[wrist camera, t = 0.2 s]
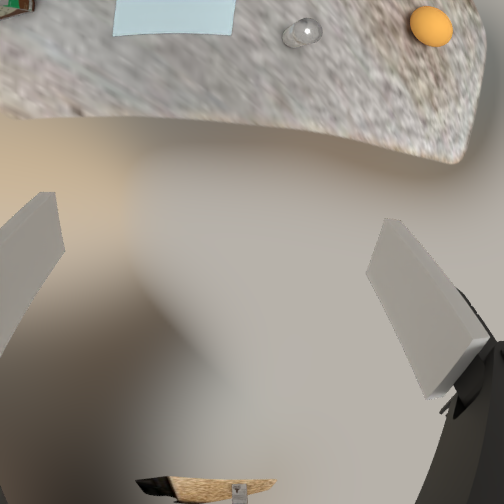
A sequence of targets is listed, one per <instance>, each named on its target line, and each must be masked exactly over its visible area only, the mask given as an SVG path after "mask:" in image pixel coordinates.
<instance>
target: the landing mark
mask: <svg viewBox="0 0 504 504" xmlns="http://www.w3.org/2000/svg"><path fill="white" fill-rule="evenodd" d="M235 3H236V0H117V2H116V9H115V17H114V26H113V36H124V35H139V34H166V33H188V34H216V35H231V33H232V25H233V17H234V10H235Z"/></svg>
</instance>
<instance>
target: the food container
mask: <svg viewBox="0 0 504 504" xmlns="http://www.w3.org/2000/svg"><path fill="white" fill-rule="evenodd" d="M34 8H35V1H34V0H0V21H1V20H4V19H8V18H11V17H15V16H18V15H22V14H26V13H30V12H34Z"/></svg>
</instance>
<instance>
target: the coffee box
mask: <svg viewBox="0 0 504 504" xmlns="http://www.w3.org/2000/svg"><path fill="white" fill-rule="evenodd" d="M232 504H248V498H247V486H246V484H232Z"/></svg>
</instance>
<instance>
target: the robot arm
mask: <svg viewBox="0 0 504 504" xmlns="http://www.w3.org/2000/svg"><path fill="white" fill-rule="evenodd" d="M64 252H65V248H64V243H63V238H62V233H61V227H60V221H59V216H58V209H57V202H56V195H55V192H40V193H38V194H37V195H36V196H35V197H34V198H33V199H32V200H30V201H29V202H28V203H27V204H26V205H25V206H24V207H22V208H21V209H20V210H19V211H18V212H17V213H16V214H15V215H14V216H13V217H12V218H11V219H10V220H8V221H7V223H5V224H4V225H3V226H2V227H1V228H0V357H1V355H2V353H3V351H4V349H5V347H6V345H7V344H8V342H9V340H10V338H11V336H12V334H13V333H14V331H15V329H16V327H17V326H18V324H19V322H20V320H21V319H22V317H23V315H24V314H25V312H26V310H27V308H28V307H29V305H30V304H31V302H32V300H33V299H34V297H35V295H36V294H37V292H38V291H39V289H40V288H41V286H42V285H43V283H44V282H45V280H46V279H47V277H48V275H49V274H50V273H51V271H52V270H53V268H54V267H55V265H56V264H57V262H58V261H59V259H60V258H61V257H62V255H63V254H64ZM366 275H367V277H368V279H369V281H370V283H371V284H372V287H373V289H374V291H375V293H376V294H377V296H378V298H379V300H380V302H381V304H382V306H383V308H384V310H385V312H386V314H387V316H388V318H389V320H390V322H391V324H392V326H393V328H394V331H395V332H396V334H397V337H398V339H399V341H400V343H401V345H402V347H403V350H404V352H405V354H406V356H407V358H408V360H409V363H410V365H411V367H412V369H413V372H414V374H415V376H416V378H417V381H418V383H419V385H420V388H421V390H422V392H423V395H424V397H425V400H430V399H435V398H439V397H443V396H444V395H445V394H446V393H447V392H448V391H449V389H450V388H451V387H452V386H453V385H454V387H455V389H456V391H457V393H456V394H455V395H454V396H453V397H452V398H451V399H450V400H449V401H448V402H447V404H446V405H445V406H444V407H443V408H442V409H441V411H440V412H439V413H440V414H442V413H443V412H444V411H445V410H446V409H448V408H449V411H448V413H447V414H446V417H447V418H446V421H445V425H444V428H443V431H442V434H441V437H440V440H439V444H438V447H437V450H436V453H435V455H434V458H433V461H432V464H431V466H430V469H429V472H428V474H427V476H426V479H425V481H424V484H423V486H422V489H421V491H420V493H419V496H418V498H417V500H416V502H415V504H504V341H499V342H497V341H496V340H495V338H494V337H493V335H492V334H491V332H490V330H489V329H488V328H487V326H486V325H485V323H484V322H483V320H482V319H481V317H480V316H479V315H478V314H477V312H476V310H475V309H474V307H473V306H471V303H470V302H469V300H468V299H467V298H466V296H465V295H464V294H463V293H462V292H461V291H460V290H458V289H457V288H456V287H455V286H454V285H453V283H452V282H451V281H450V280H449V278H448V277H447V276H446V274H445V273H444V272H443V271H442V269H441V268H440V267H439V266H438V264H437V263H436V262H435V261H434V259H433V258H432V257H431V255H430V254H429V253H428V252H427V251H426V250H425V248H424V247H423V246H422V245H421V244H420V242H419V241H418V240H417V239H416V238H415V236H414V235H413V234H412V233H411V232H410V231H409V229H408V228H406V226H405V225H404V224H403V223H402V222H401V220H395V219H388V218H385V220H384V223H383V226H382V229H381V232H380V235H379V238H378V241H377V243H376V246H375V249H374V252H373V255H372V258H371V260H370V263H369V266H368V269H367V271H366ZM0 504H8V503H7V501H6V498H5V496H4V494H3V491H2V489H1V486H0Z"/></svg>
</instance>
